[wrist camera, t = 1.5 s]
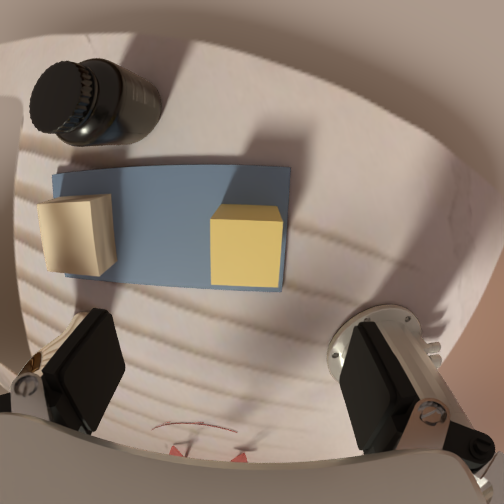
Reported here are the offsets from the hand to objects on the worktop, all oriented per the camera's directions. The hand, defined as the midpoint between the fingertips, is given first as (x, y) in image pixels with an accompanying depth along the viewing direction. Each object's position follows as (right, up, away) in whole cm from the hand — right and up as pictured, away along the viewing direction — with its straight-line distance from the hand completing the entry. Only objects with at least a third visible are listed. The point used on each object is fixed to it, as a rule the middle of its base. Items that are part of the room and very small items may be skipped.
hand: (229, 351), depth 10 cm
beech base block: (-17, +6, +16) cm, 24 cm away
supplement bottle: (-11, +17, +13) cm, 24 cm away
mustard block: (0, +6, +16) cm, 17 cm away
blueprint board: (-9, +6, +17) cm, 20 cm away
